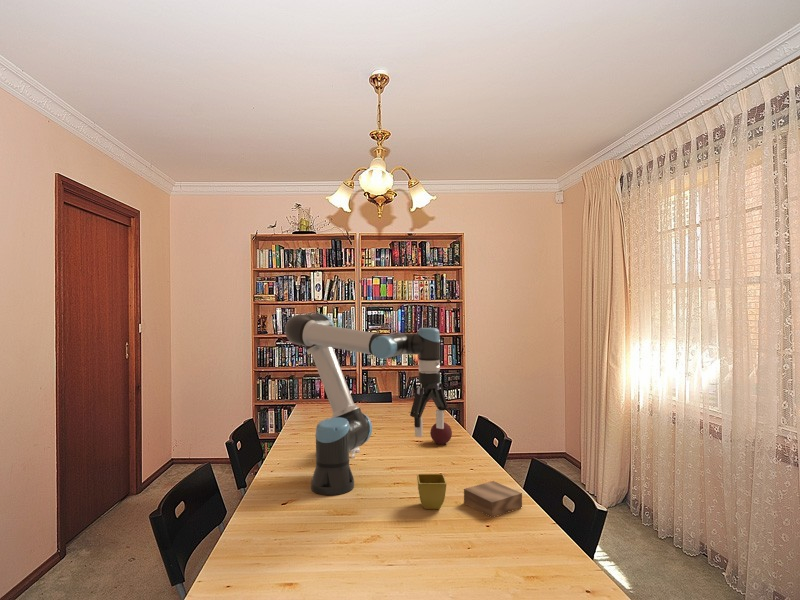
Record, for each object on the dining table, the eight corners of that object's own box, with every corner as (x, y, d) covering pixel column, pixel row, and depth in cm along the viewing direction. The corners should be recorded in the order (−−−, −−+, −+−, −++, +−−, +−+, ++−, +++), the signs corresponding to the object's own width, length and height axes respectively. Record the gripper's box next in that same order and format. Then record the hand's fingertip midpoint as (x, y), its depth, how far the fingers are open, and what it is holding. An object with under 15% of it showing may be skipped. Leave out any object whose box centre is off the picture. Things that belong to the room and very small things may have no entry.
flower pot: (443, 500, 164) (443, 473, 164) (446, 511, 155) (446, 483, 155) (416, 501, 164) (416, 473, 164) (418, 512, 155) (418, 483, 155)
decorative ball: (428, 446, 226) (428, 424, 227) (432, 440, 236) (432, 419, 236) (450, 447, 224) (450, 425, 224) (453, 441, 234) (453, 420, 234)
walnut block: (492, 518, 151) (492, 502, 151) (463, 504, 162) (463, 489, 162) (522, 508, 158) (521, 493, 158) (493, 495, 169) (493, 480, 169)
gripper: (418, 377, 163) (418, 442, 163) (456, 368, 183) (456, 426, 183) (399, 375, 167) (400, 438, 167) (439, 367, 187) (439, 423, 187)
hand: (429, 432), depth 175 cm, fingers open, 13 cm apart
